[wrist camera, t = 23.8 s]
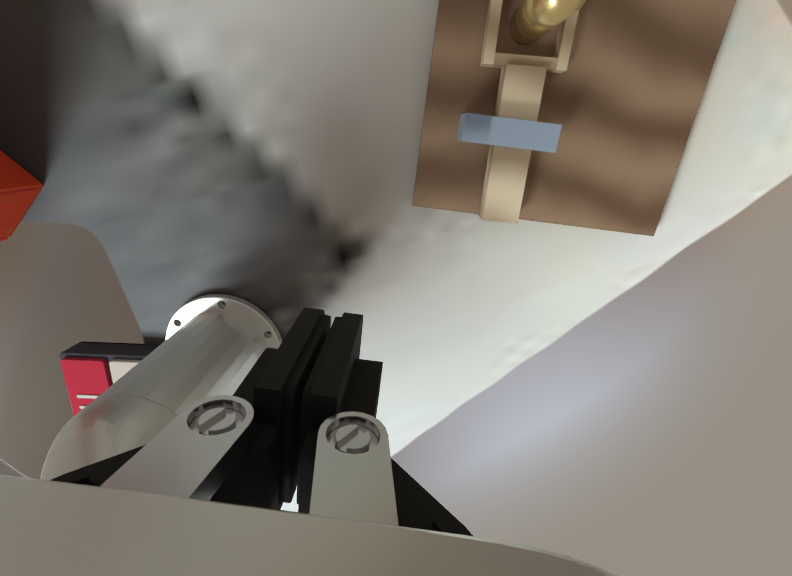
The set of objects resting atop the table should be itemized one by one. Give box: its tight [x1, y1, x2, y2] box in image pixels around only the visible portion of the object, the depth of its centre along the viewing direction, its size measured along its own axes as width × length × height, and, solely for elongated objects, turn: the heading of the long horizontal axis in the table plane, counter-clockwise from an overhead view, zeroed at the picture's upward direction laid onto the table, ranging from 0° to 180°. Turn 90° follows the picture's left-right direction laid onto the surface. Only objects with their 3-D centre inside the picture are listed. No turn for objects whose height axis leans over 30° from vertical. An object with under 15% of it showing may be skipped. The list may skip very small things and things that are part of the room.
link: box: [479, 0, 579, 223], centre depth 33 cm, size 18×6×2 cm, turn 175°
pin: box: [509, 0, 586, 46], centre depth 28 cm, size 3×3×9 cm
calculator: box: [60, 341, 160, 416], centre depth 47 cm, size 11×4×15 cm
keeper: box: [457, 113, 562, 153], centre depth 33 cm, size 2×7×4 cm, turn 83°
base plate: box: [412, 0, 736, 236], centre depth 35 cm, size 19×22×2 cm
